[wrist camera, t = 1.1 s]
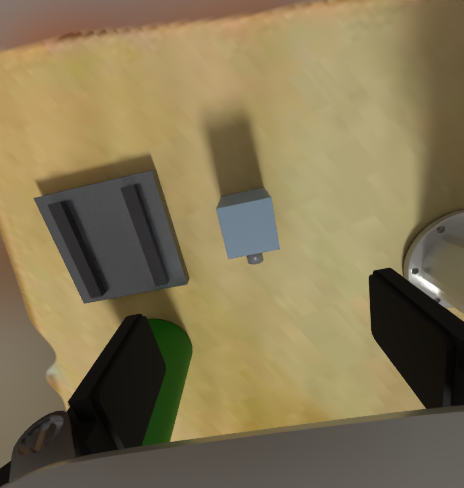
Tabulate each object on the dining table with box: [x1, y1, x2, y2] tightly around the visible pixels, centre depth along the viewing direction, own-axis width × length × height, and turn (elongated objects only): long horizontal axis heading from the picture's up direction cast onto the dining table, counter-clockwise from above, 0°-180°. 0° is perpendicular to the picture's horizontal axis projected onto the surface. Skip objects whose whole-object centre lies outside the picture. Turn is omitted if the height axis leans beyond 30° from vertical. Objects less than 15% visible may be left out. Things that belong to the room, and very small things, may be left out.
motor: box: [142, 319, 192, 446], centre depth 27 cm, size 10×9×20 cm
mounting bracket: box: [34, 170, 189, 303], centre depth 30 cm, size 14×14×2 cm
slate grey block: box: [216, 187, 280, 264], centre depth 27 cm, size 5×7×7 cm
